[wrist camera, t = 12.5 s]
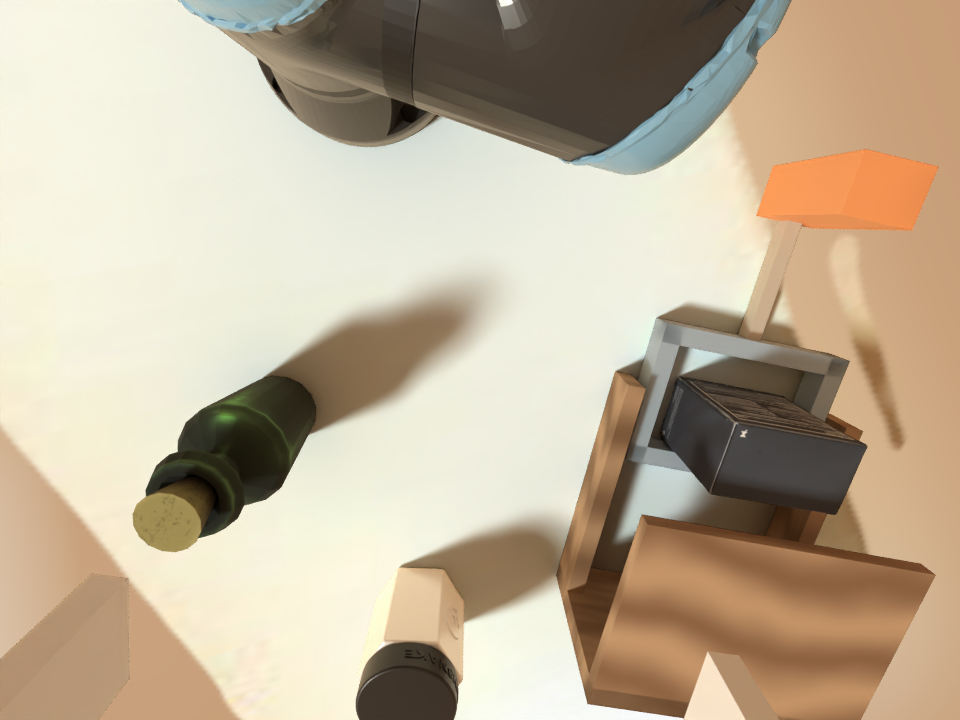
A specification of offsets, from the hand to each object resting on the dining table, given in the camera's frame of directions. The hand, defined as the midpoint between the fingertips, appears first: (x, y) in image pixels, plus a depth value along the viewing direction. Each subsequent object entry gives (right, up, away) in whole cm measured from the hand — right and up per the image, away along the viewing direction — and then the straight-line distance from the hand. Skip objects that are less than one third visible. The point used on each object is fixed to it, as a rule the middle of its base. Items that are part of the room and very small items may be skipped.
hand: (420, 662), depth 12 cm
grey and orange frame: (+25, +10, +33) cm, 43 cm away
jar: (-5, -18, +41) cm, 44 cm away
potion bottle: (-17, +3, +35) cm, 39 cm away
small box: (+24, +2, +36) cm, 43 cm away
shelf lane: (+22, -6, +38) cm, 44 cm away
